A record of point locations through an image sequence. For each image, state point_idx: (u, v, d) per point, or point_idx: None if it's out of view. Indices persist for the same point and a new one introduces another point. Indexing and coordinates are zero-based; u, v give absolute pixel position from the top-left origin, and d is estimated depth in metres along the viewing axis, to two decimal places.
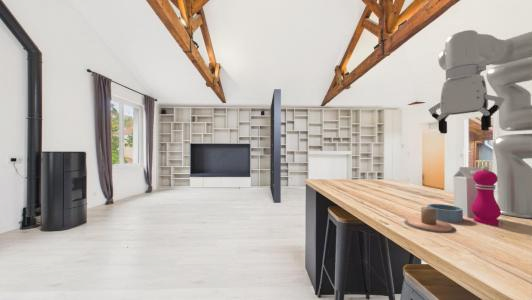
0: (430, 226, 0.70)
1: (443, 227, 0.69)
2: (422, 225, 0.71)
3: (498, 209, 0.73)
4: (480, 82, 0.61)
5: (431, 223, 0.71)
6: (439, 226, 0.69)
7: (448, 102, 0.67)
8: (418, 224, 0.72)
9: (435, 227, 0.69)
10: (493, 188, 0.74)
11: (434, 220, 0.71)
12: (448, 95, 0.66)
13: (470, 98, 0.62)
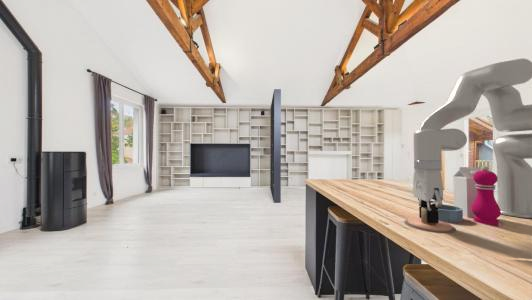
0: (430, 226, 0.70)
1: (443, 227, 0.69)
2: (422, 225, 0.71)
3: (498, 209, 0.73)
4: None
5: (431, 223, 0.71)
6: (439, 226, 0.69)
7: None
8: (418, 224, 0.72)
9: (435, 227, 0.69)
10: (493, 188, 0.74)
11: None
12: None
13: None
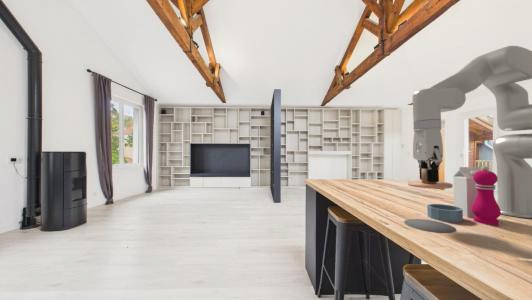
0: (431, 185, 0.70)
1: (443, 185, 0.69)
2: (422, 184, 0.71)
3: (498, 209, 0.73)
4: None
5: (431, 182, 0.71)
6: (439, 184, 0.70)
7: None
8: (418, 184, 0.72)
9: (435, 185, 0.69)
10: (493, 188, 0.74)
11: None
12: None
13: None
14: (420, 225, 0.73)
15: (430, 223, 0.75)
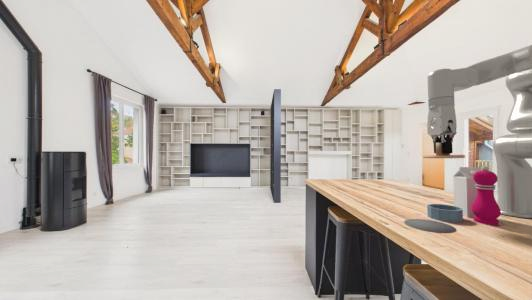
0: None
1: (457, 155, 0.76)
2: (437, 155, 0.78)
3: (498, 209, 0.73)
4: None
5: (445, 154, 0.79)
6: (453, 155, 0.77)
7: None
8: (434, 155, 0.79)
9: (449, 155, 0.76)
10: (493, 188, 0.74)
11: None
12: None
13: None
14: (420, 225, 0.73)
15: (430, 223, 0.75)
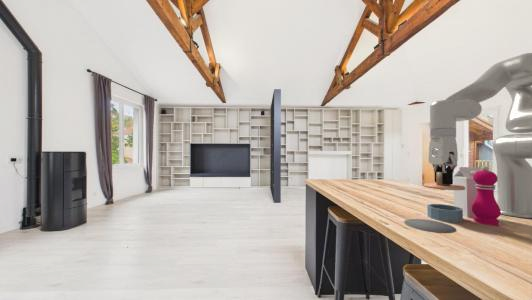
0: (445, 186, 0.77)
1: (457, 187, 0.77)
2: (438, 186, 0.79)
3: (498, 209, 0.73)
4: None
5: (446, 184, 0.79)
6: (453, 186, 0.77)
7: None
8: (434, 185, 0.80)
9: (450, 187, 0.77)
10: (493, 188, 0.74)
11: None
12: None
13: None
14: (420, 225, 0.73)
15: (430, 223, 0.75)
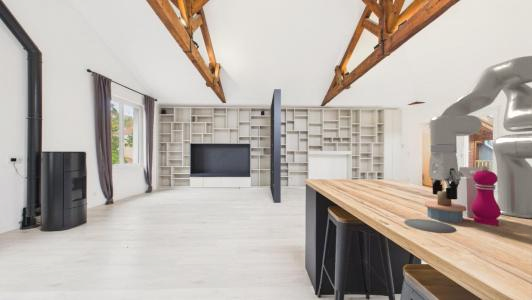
0: (447, 207, 0.77)
1: (458, 208, 0.77)
2: (439, 206, 0.79)
3: (498, 209, 0.73)
4: None
5: (447, 205, 0.79)
6: (454, 207, 0.77)
7: None
8: (435, 206, 0.80)
9: (451, 208, 0.77)
10: (493, 188, 0.74)
11: (450, 202, 0.79)
12: None
13: None
14: (420, 225, 0.73)
15: (430, 223, 0.75)
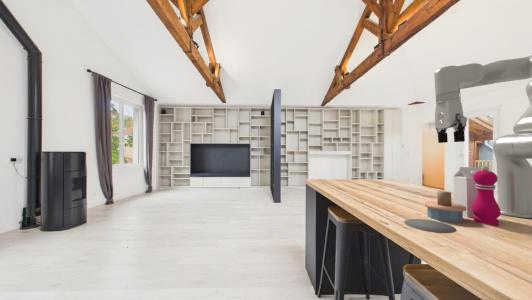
0: (447, 207, 0.77)
1: (458, 208, 0.77)
2: (439, 206, 0.79)
3: (498, 209, 0.73)
4: None
5: (447, 205, 0.79)
6: (454, 207, 0.77)
7: None
8: (435, 206, 0.80)
9: (451, 208, 0.77)
10: (493, 188, 0.74)
11: (450, 202, 0.79)
12: None
13: None
14: (420, 225, 0.73)
15: (430, 223, 0.75)
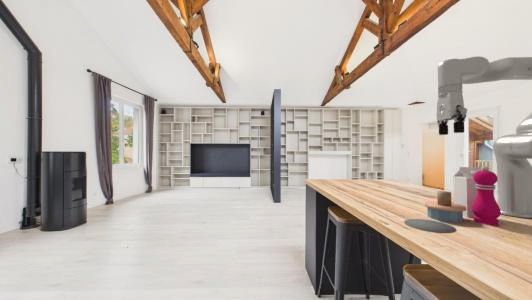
0: (447, 207, 0.77)
1: (458, 208, 0.77)
2: (439, 206, 0.79)
3: (498, 209, 0.73)
4: None
5: (447, 205, 0.79)
6: (454, 207, 0.77)
7: None
8: (435, 206, 0.80)
9: (451, 208, 0.77)
10: (493, 188, 0.74)
11: (450, 202, 0.79)
12: None
13: None
14: (420, 225, 0.73)
15: (430, 223, 0.75)
